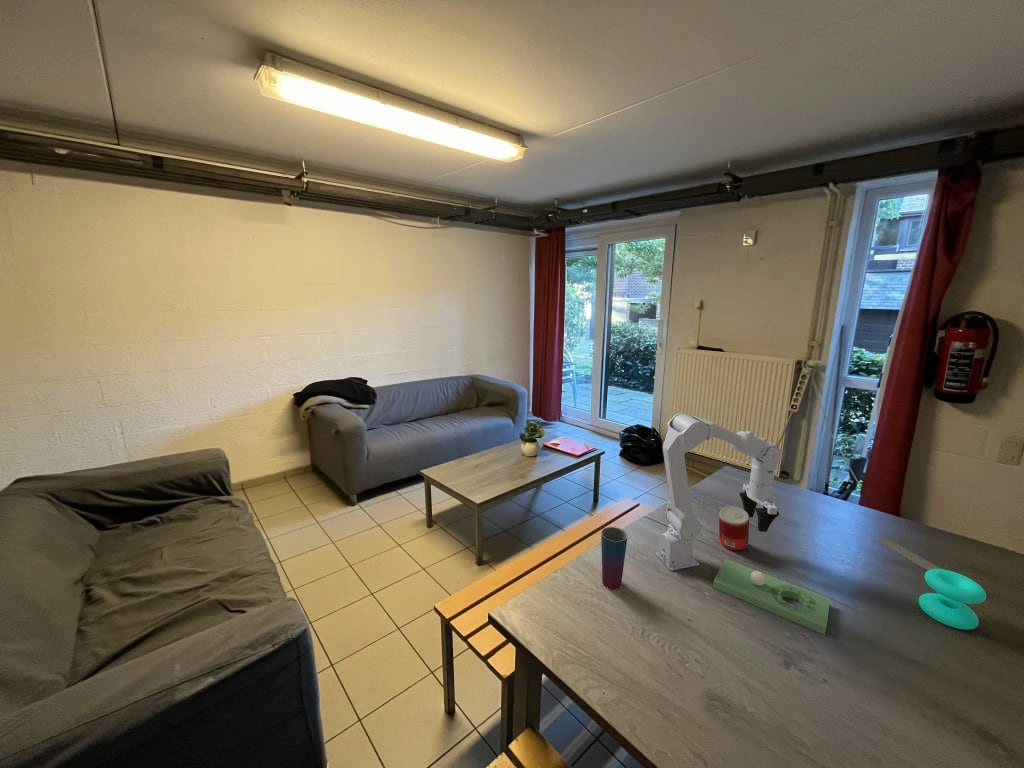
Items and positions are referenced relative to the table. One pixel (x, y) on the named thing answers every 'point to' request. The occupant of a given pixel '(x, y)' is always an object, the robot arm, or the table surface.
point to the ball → (757, 578)
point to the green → (774, 596)
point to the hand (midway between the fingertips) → (755, 523)
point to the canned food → (733, 528)
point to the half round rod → (908, 554)
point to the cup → (613, 556)
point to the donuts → (952, 598)
